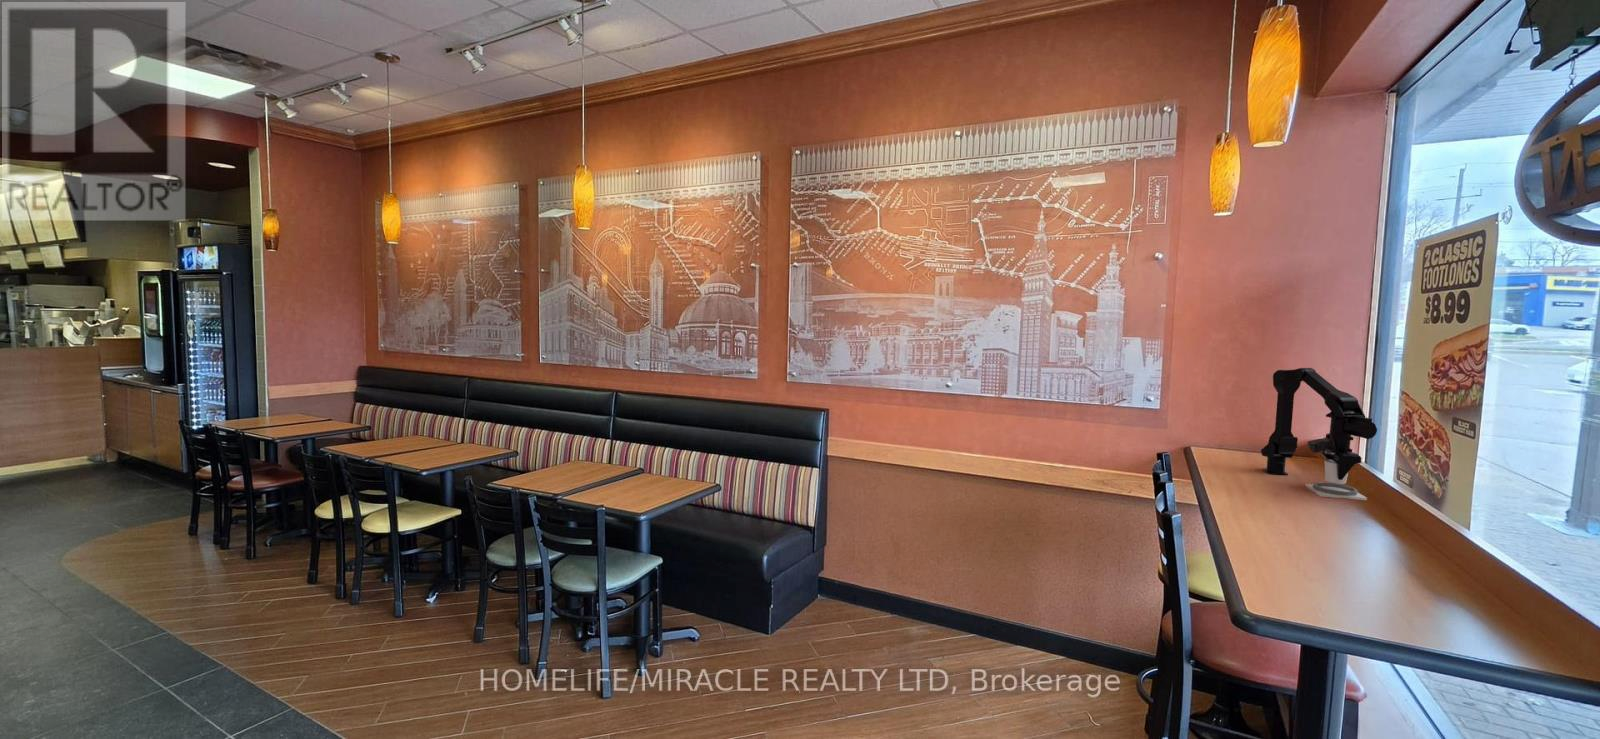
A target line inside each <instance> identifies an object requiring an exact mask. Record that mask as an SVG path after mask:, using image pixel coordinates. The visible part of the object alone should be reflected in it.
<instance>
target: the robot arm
mask: <svg viewBox="0 0 1600 739" xmlns="http://www.w3.org/2000/svg"><path fill="white" fill-rule="evenodd" d="M1302 382H1304V383H1305V384H1306V385H1307V386H1308V387H1310V388H1311V389H1312V390H1313V391H1314V392H1316V393H1317V394H1318V395H1319V396H1320V397H1321V398H1322V399H1323V402H1324V405H1325V406H1326V407H1327V408H1328V409H1329V411H1330V412H1329V413H1327V414H1325V417H1326V418H1330V425H1329V433H1327V432H1326V434H1325V437H1323V438H1316V439H1313V440H1309V441H1307V445H1308V448H1309V451H1310V452H1312V453H1313V454H1316V453H1317V454H1318V453H1320V454H1321V455H1322V457H1324V458H1325V460H1326V459H1332V460H1333V461H1334V462H1335V463H1336V464H1337V476H1338V479H1339V480H1342V479H1343V478H1344V477H1345V475H1346V474H1347V473H1348V474H1349V471H1351V470H1352V468H1353V467H1355V465H1357V464H1362V456H1361V455H1360V454H1358V453H1355V452H1353V448H1351V442H1352V441H1354V437H1358V438H1362V439H1366V440H1370V439H1372V438H1374V437H1375V436H1376V435H1377V432H1378V428H1377V425H1376V423H1375V422H1373V418H1371V417H1366V415H1365V413H1364V411H1363V409H1362V407H1361V405H1360V404H1359V400H1358V398H1357V397H1355V396H1353V395H1352V394H1350V393H1348V392H1345V391H1342V390H1339V389H1338V388H1336V387H1335V386H1334V385H1332V383H1330V382H1329V381H1327V379H1325V378H1324V377H1322V376H1321V375H1320V374H1319V373H1318V372H1317V371H1316V369H1314V368H1313V367H1300V368H1296V369H1277V370H1276V371H1275V372H1274V373H1273V375H1272V384H1273V387H1274V389H1275V391H1276V392H1277V399H1276V400H1277V401H1276V410H1275V412H1276V413H1275V414H1276V415H1275V424H1274V431H1273V432H1272V433H1271V435H1269V437H1268V442H1267V444H1266V445H1265V446H1264V447H1263V448H1261V449H1260V452H1261V456H1263V457H1265V458H1266V460H1267V461H1266V468H1264V467H1263V468H1262V470H1263V471H1265V472H1266V473H1267V474H1269V475H1270V474H1272V475H1273V474H1274V475H1282V476H1283V475H1284V476H1288V475H1289V473H1288V472H1287V471H1286V461H1287V459H1289V458H1290V459H1293V456H1294V454H1295V452H1296V450H1297V449H1298V440H1299V439H1298V437H1297V436H1294V434H1293V432H1292V425H1293V412H1294V403H1295V402H1294V400H1295V399H1294V398H1295V394H1296V392H1297V391H1298V390H1299V388H1300V387H1301V383H1302ZM1353 436H1354V437H1353Z"/></svg>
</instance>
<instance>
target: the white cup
mask: <svg viewBox="0 0 1600 739" xmlns="http://www.w3.org/2000/svg"><path fill="white" fill-rule="evenodd" d="M1348 475H1349V472H1348V473H1347V474H1346V475H1345V477H1344V478H1343V479H1342V480H1339V479H1338V476H1337V464H1336V463H1335V462H1334V461H1333V460H1332V459H1326V458H1325V459H1324V482H1327V483H1336V484H1341V485H1346V484H1347V482H1348V481H1347V480H1348Z"/></svg>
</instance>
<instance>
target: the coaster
mask: <svg viewBox="0 0 1600 739" xmlns="http://www.w3.org/2000/svg"><path fill="white" fill-rule="evenodd" d="M1304 487H1306V488H1307V489H1309V490H1310V491H1312V492H1313V493H1314V494H1315V495H1317V496H1319V497H1324V498H1325V497H1326V498H1335V499H1346V498H1347V499H1348V500H1356V501H1357V500H1359V501H1368V497H1366V496H1365V495H1363V494H1361V493H1360V492H1359V489H1357V488H1355V487H1353V486H1349V485H1346V484H1338V483H1332V482H1327V481H1324V482H1314V483H1304Z"/></svg>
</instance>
